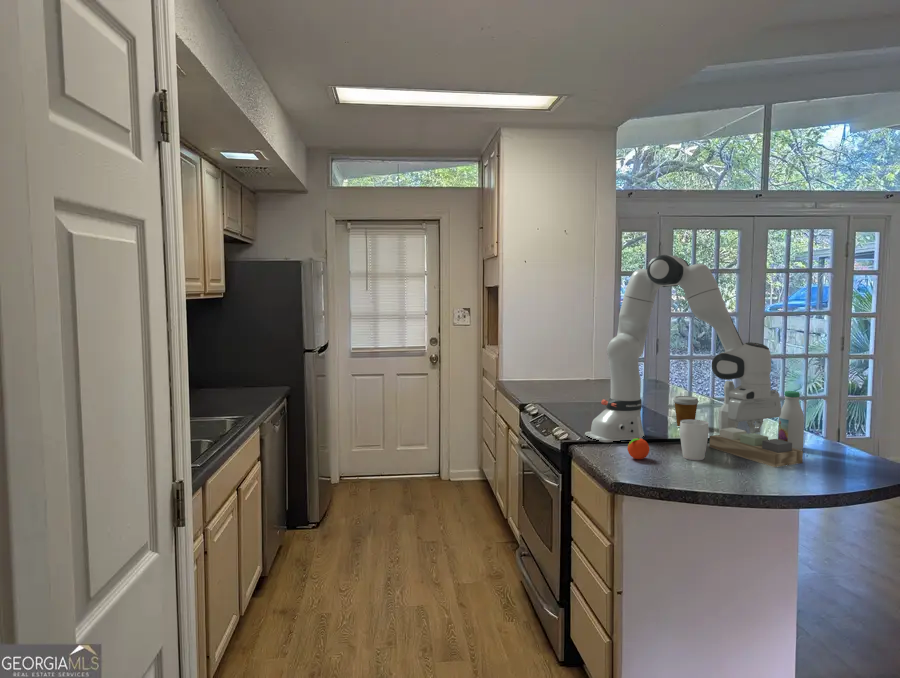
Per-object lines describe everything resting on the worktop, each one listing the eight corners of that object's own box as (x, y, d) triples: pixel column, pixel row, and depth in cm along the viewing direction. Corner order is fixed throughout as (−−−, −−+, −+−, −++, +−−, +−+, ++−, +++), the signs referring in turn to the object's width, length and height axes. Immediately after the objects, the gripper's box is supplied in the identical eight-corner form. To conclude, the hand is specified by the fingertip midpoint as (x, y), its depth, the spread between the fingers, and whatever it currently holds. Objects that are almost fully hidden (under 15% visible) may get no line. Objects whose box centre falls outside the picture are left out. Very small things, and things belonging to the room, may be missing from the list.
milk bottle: (802, 447, 216) (803, 390, 215) (804, 452, 209) (806, 394, 208) (777, 444, 220) (778, 389, 218) (778, 450, 213) (780, 392, 211)
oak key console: (774, 467, 192) (775, 454, 192) (709, 447, 217) (709, 436, 217) (802, 463, 197) (802, 450, 196) (735, 443, 222) (735, 432, 221)
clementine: (635, 463, 198) (635, 441, 198) (620, 458, 204) (620, 437, 204) (653, 460, 202) (654, 438, 201) (638, 455, 208) (638, 434, 208)
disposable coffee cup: (701, 429, 244) (702, 399, 244) (677, 429, 245) (678, 399, 244) (692, 424, 254) (693, 395, 253) (669, 424, 254) (670, 395, 253)
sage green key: (754, 450, 203) (754, 438, 203) (739, 446, 209) (740, 434, 208) (768, 448, 205) (768, 436, 205) (753, 444, 211) (753, 432, 210)
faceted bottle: (728, 438, 230) (729, 379, 229) (741, 441, 224) (742, 382, 223) (714, 439, 228) (715, 380, 227) (727, 443, 222) (728, 383, 221)
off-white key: (732, 444, 211) (733, 432, 211) (719, 440, 217) (719, 429, 217) (746, 442, 213) (746, 431, 213) (732, 438, 219) (732, 427, 219)
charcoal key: (777, 457, 195) (778, 444, 194) (762, 452, 200) (762, 440, 200) (791, 455, 197) (792, 442, 196) (775, 450, 202) (776, 438, 202)
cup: (707, 455, 207) (708, 420, 206) (709, 462, 198) (709, 425, 197) (678, 453, 210) (679, 418, 209) (679, 460, 201) (679, 424, 200)
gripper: (770, 388, 212) (769, 427, 213) (725, 392, 205) (724, 433, 206) (786, 390, 206) (785, 431, 207) (740, 395, 199) (739, 437, 200)
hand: (754, 432), depth 206 cm, fingers closed
